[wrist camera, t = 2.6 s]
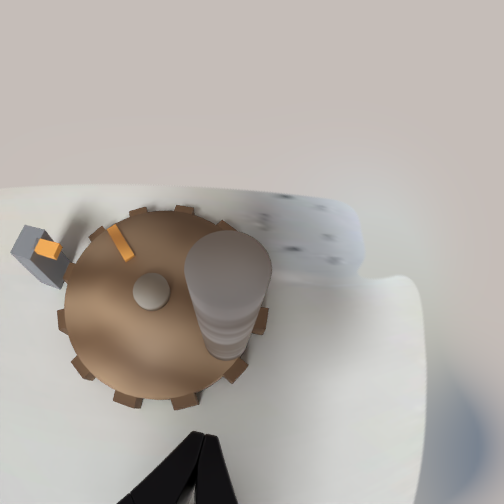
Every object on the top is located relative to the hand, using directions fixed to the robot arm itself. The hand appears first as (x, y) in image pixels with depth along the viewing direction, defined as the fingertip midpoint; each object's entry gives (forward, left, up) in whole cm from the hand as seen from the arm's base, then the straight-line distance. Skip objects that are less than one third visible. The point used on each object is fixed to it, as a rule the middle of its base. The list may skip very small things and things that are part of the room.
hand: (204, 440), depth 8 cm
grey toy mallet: (+20, 0, -13) cm, 24 cm away
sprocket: (+10, -5, -13) cm, 17 cm away
